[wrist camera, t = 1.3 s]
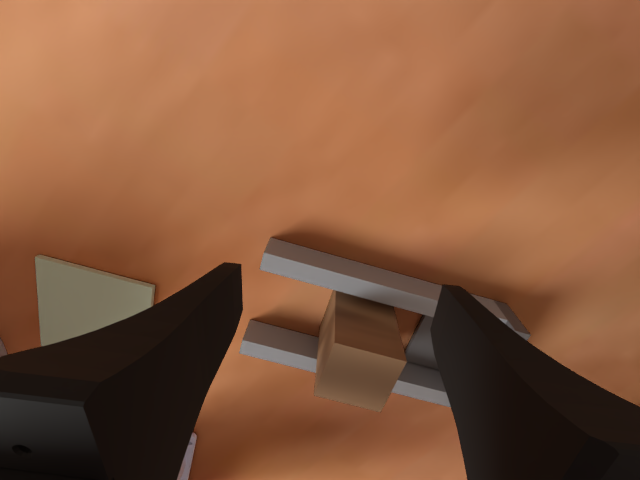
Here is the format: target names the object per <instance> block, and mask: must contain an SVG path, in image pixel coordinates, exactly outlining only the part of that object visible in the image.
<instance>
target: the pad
mask: <svg viewBox="0 0 640 480" xmlns="http://www.w3.org/2000/svg"><path fill="white" fill-rule="evenodd" d="M35 268H36V282H37V296H38V310H39V324H40V339H41V346H46V345H50V344H53V343H57V342H60V341H64V340H67V339H70V338H74V337H77V336H80V335H83V334H86V333H89V332H92V331H95V330H98V329H100V328H103V327H105V326H108V325H111V324H113V323H116V322H118V321H121V320H123V319H126V318H128V317H131V316H133V315H135V314H137V313H139V312H141V311H144V310H146V309H148V308H150V307H152V306H153V303H154V293H155V285H153V284H149V283H146V282H142V281H138V280H134V279H130V278H127V277H123V276H119V275H115V274H112V273H108V272H104V271H100V270H96V269H93V268H89V267H85V266H81V265H78V264H74V263H70V262H66V261H63V260H59V259H55V258H51V257H47V256H44V255H40V254H39V255H37V256H36V257H35Z"/></svg>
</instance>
